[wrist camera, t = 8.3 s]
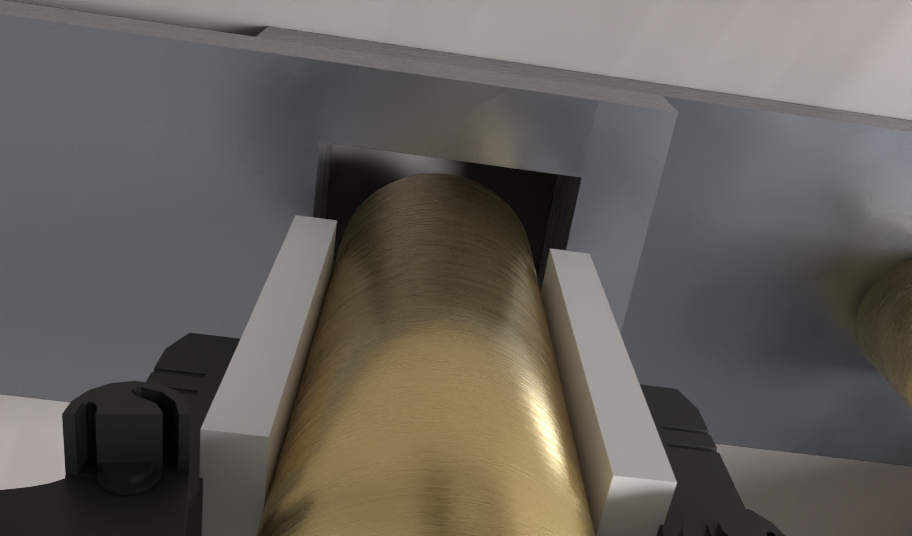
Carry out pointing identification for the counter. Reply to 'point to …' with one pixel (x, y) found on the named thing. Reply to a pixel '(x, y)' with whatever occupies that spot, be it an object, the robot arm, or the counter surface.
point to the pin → (430, 382)
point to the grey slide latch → (463, 139)
